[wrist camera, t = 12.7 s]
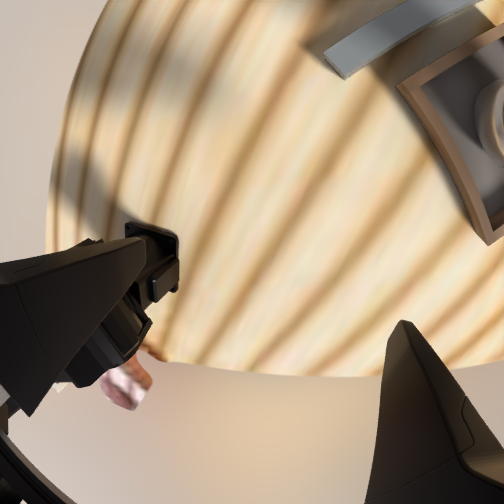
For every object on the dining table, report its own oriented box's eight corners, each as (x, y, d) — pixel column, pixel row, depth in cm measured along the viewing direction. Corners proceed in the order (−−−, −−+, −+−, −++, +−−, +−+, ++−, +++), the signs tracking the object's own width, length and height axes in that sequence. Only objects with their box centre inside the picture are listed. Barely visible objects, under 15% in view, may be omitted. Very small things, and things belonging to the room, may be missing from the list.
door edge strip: (344, 80, 15) (344, 75, 14) (325, 59, 15) (323, 52, 13) (492, -4, 6) (501, -11, 4) (476, -23, 6) (483, -31, 4)
